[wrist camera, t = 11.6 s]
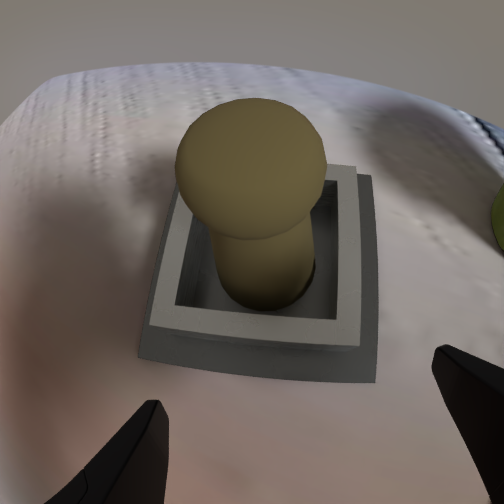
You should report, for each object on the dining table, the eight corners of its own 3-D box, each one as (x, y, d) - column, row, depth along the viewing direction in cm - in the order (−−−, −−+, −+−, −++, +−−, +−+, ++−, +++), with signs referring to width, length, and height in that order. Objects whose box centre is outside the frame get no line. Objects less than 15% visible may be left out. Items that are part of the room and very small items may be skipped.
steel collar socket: (372, 383, 16) (392, 382, 13) (141, 358, 18) (113, 352, 15) (369, 179, 21) (380, 148, 18) (183, 171, 23) (169, 140, 20)
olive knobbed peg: (211, 228, 20) (153, 96, 10) (302, 211, 20) (311, 66, 10) (224, 320, 18) (148, 237, 8) (326, 300, 18) (376, 193, 8)
